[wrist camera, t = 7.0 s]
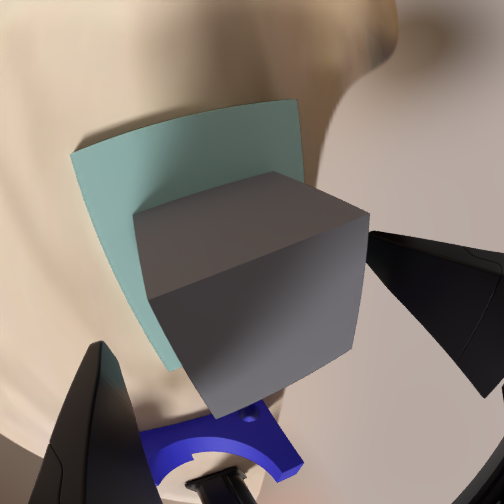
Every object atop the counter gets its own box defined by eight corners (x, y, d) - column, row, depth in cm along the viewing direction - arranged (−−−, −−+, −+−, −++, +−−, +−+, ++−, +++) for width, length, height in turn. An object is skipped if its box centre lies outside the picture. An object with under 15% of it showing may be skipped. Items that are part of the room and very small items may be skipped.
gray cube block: (285, 282, 12) (351, 348, 9) (177, 326, 11) (215, 419, 7) (273, 171, 9) (369, 213, 6) (132, 214, 8) (147, 299, 4)
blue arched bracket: (117, 458, 15) (137, 523, 10) (94, 436, 13) (113, 516, 8) (256, 421, 19) (293, 478, 15) (259, 395, 17) (304, 462, 13)
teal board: (303, 305, 14) (308, 310, 14) (166, 364, 12) (168, 371, 12) (289, 99, 9) (297, 99, 9) (72, 152, 7) (69, 154, 6)
